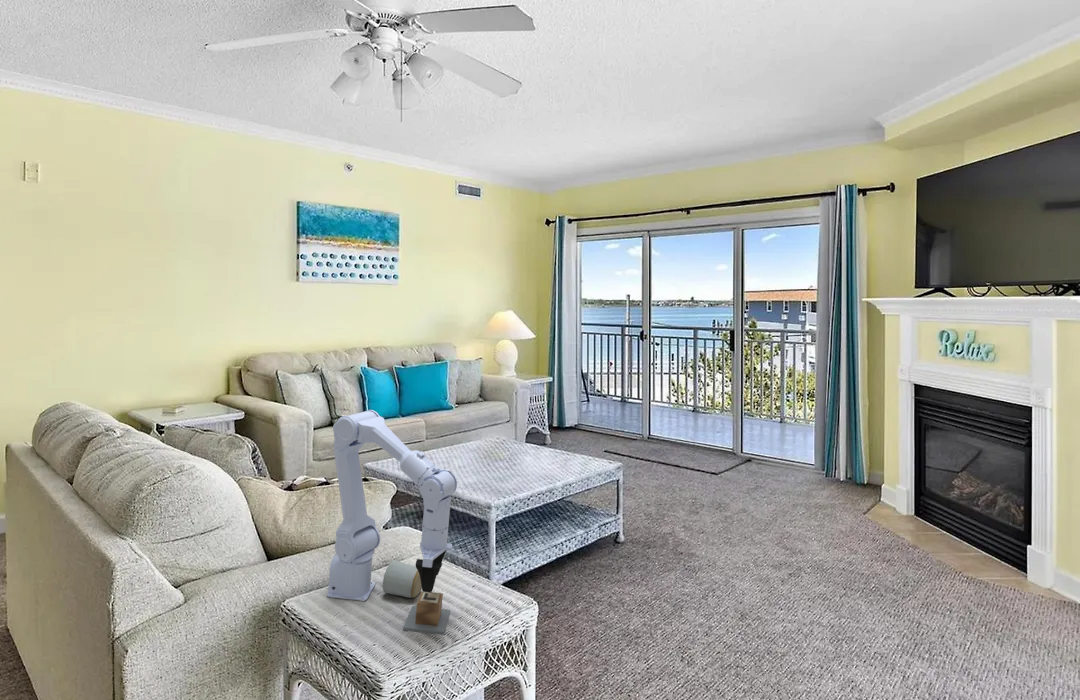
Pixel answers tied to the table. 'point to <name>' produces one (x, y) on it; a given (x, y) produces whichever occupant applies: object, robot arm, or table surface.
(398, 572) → the ceramic mug
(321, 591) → the table surface
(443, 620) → the slate mat
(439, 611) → the letter cube
